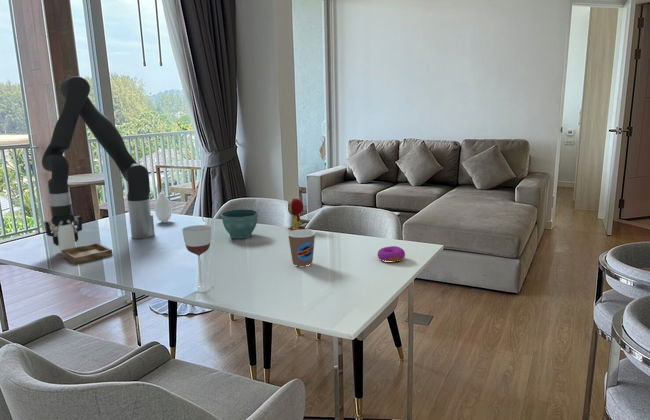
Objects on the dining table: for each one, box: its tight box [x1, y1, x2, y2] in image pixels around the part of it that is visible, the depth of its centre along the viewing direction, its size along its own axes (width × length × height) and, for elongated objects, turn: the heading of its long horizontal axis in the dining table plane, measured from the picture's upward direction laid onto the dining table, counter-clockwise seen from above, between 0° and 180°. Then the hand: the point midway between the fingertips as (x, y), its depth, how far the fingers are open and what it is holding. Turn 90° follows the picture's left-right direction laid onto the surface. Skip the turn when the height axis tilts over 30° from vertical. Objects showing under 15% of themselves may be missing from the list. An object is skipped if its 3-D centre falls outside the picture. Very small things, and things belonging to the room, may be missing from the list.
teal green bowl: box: [220, 208, 259, 239], centre depth 216 cm, size 16×16×11 cm
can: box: [55, 223, 77, 255], centre depth 197 cm, size 6×6×12 cm
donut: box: [377, 245, 406, 261], centre depth 180 cm, size 10×10×4 cm
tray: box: [61, 242, 114, 265], centre depth 192 cm, size 14×15×2 cm
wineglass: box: [181, 224, 212, 287], centre depth 153 cm, size 8×9×20 cm
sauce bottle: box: [154, 187, 173, 224], centre depth 245 cm, size 8×8×18 cm
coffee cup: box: [287, 228, 317, 266], centre depth 176 cm, size 10×10×12 cm
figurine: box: [286, 198, 308, 232], centre depth 224 cm, size 9×10×15 cm
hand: (66, 243), depth 198 cm, fingers closed on can, 6 cm apart
